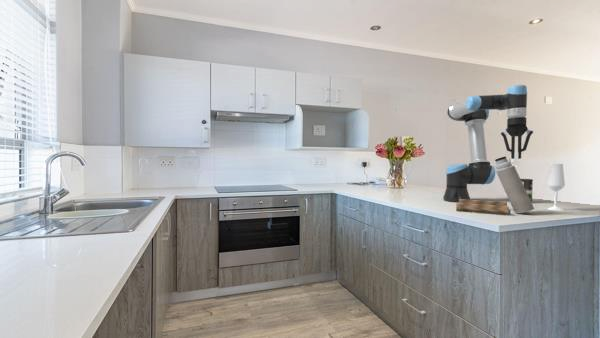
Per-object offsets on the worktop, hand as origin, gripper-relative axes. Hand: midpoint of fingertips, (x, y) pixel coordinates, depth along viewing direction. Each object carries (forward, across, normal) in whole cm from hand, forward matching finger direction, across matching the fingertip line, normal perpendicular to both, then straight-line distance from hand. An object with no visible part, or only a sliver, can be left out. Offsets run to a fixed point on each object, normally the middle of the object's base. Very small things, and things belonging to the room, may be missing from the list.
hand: (516, 165), depth 141 cm
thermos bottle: (+23, +4, 0) cm, 23 cm away
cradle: (+24, -14, 0) cm, 27 cm away
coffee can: (+24, +6, +43) cm, 49 cm away
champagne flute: (+24, +18, +21) cm, 36 cm away
